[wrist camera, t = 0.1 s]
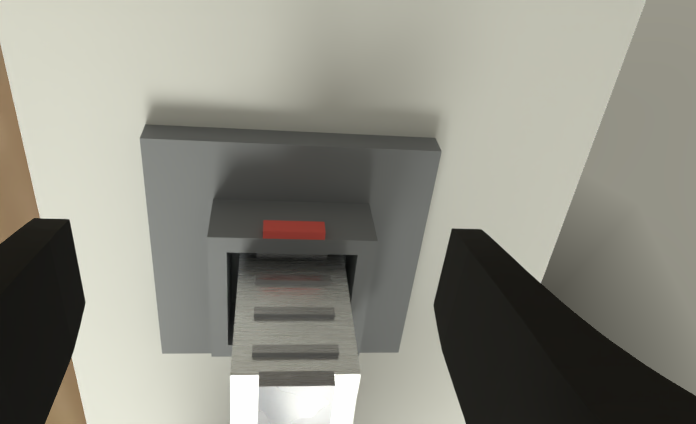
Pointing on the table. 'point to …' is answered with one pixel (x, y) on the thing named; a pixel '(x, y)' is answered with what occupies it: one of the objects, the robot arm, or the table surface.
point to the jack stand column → (293, 341)
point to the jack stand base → (297, 169)
